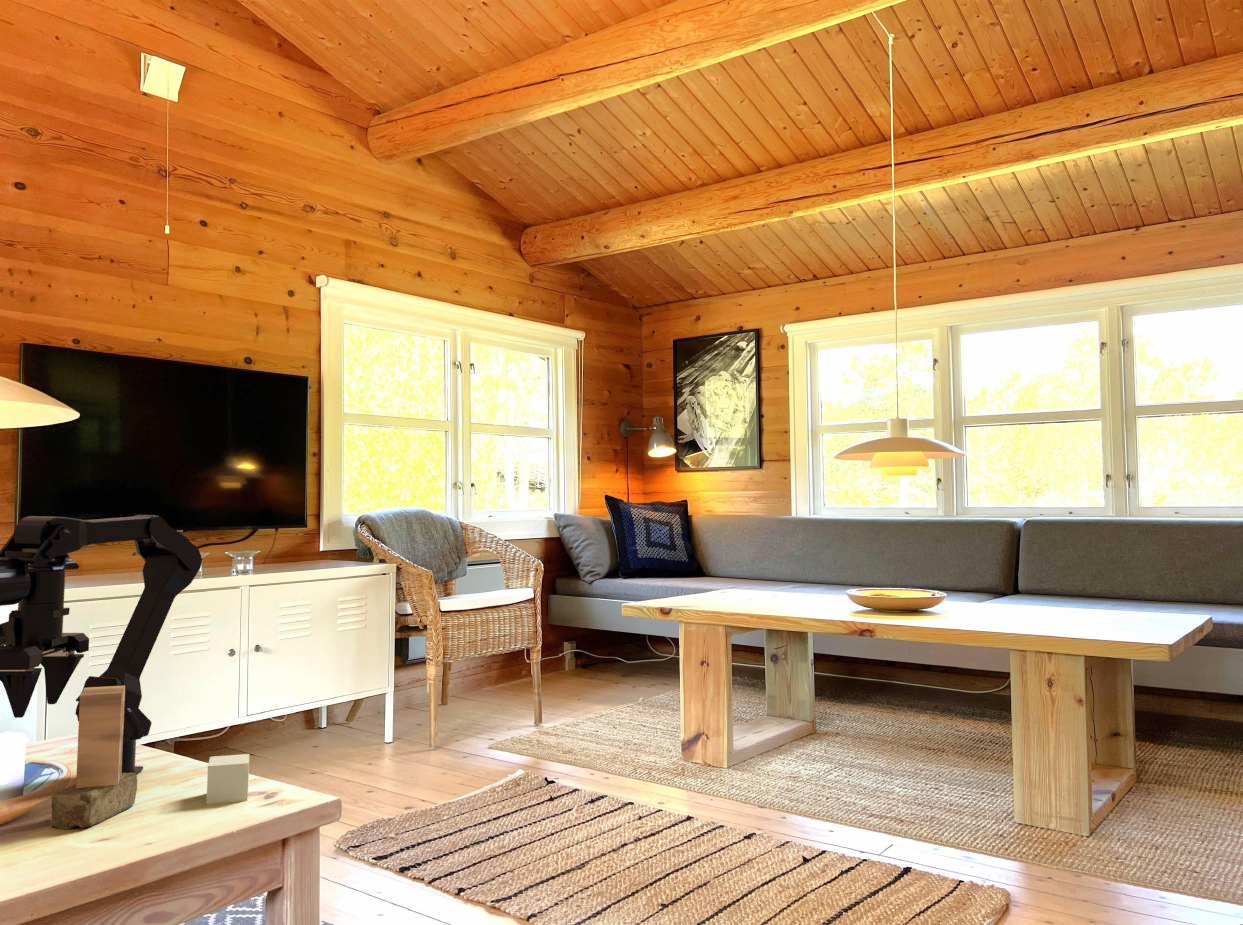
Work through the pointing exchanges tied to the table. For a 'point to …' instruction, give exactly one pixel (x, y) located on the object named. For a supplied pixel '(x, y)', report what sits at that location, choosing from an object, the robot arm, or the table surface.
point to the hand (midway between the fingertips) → (35, 710)
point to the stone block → (92, 803)
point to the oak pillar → (100, 736)
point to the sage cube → (228, 779)
